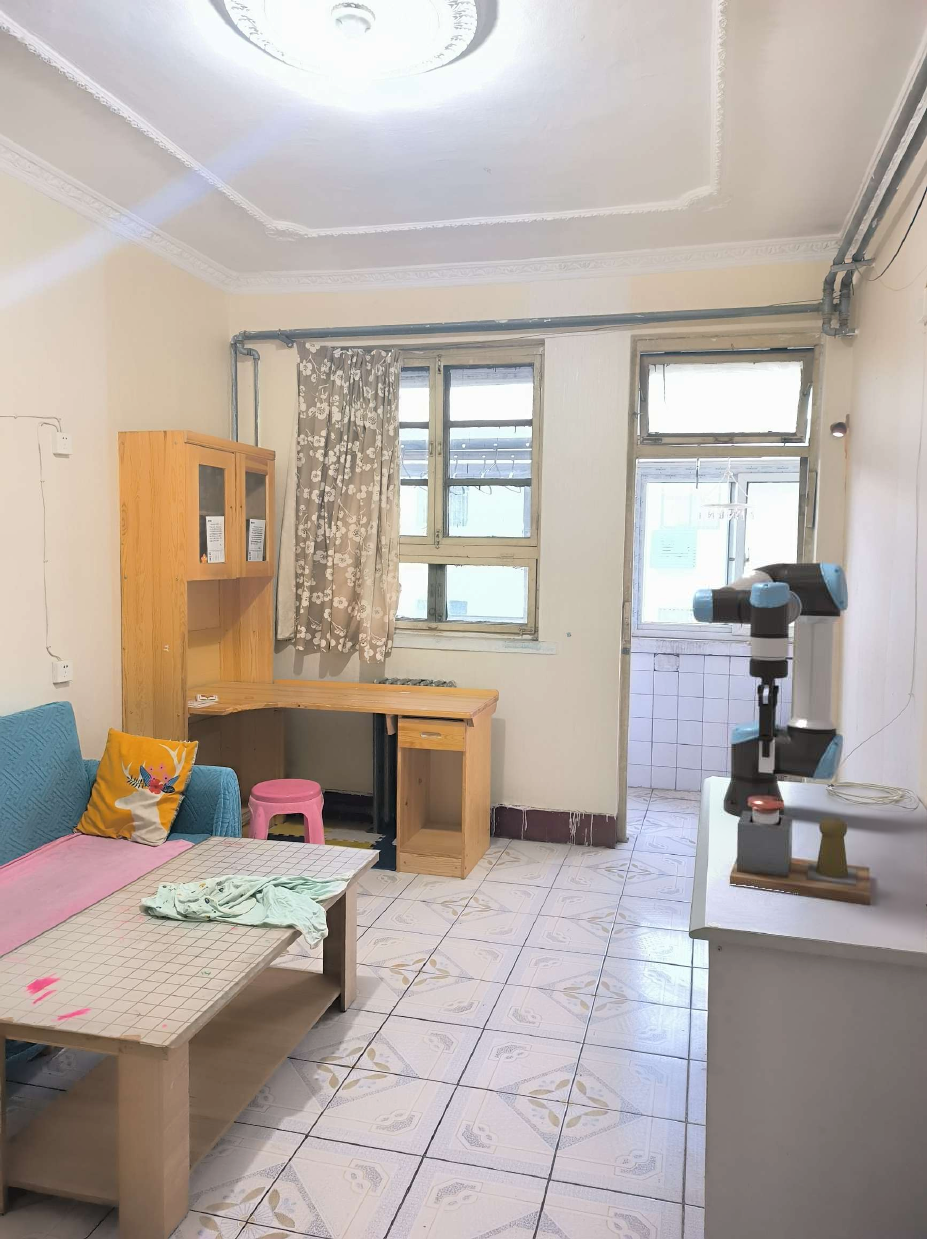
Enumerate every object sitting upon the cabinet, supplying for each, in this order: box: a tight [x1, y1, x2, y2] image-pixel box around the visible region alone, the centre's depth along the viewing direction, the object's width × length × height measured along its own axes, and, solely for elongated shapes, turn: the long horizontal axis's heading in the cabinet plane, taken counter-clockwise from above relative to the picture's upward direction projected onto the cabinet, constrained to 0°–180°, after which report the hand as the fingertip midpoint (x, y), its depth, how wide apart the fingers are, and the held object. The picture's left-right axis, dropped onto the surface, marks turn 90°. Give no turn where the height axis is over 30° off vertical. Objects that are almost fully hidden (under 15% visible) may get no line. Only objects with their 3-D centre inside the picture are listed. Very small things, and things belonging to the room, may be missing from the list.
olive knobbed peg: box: [816, 817, 848, 878], centre depth 178 cm, size 6×6×11 cm
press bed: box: [729, 857, 872, 906], centre depth 181 cm, size 16×26×3 cm, turn 66°
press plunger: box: [748, 795, 785, 826], centre depth 183 cm, size 7×7×9 cm
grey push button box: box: [736, 811, 794, 878], centre depth 184 cm, size 10×10×10 cm
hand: (766, 770), depth 183 cm, fingers open, 3 cm apart
